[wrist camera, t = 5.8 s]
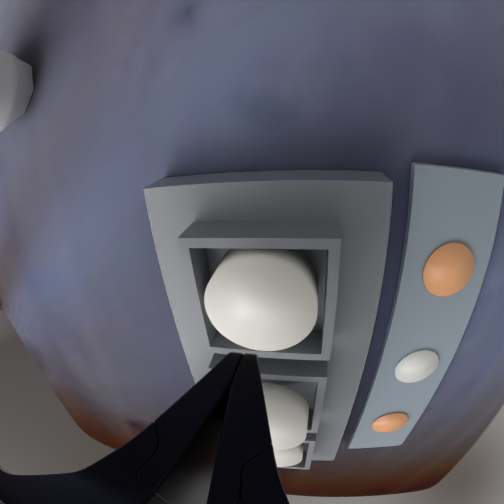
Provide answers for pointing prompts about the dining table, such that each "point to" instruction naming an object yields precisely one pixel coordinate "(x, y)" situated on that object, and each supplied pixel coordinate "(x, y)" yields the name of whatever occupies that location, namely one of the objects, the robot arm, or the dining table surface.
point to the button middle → (286, 416)
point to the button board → (282, 237)
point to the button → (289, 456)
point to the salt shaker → (14, 88)
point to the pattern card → (430, 295)
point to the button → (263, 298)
